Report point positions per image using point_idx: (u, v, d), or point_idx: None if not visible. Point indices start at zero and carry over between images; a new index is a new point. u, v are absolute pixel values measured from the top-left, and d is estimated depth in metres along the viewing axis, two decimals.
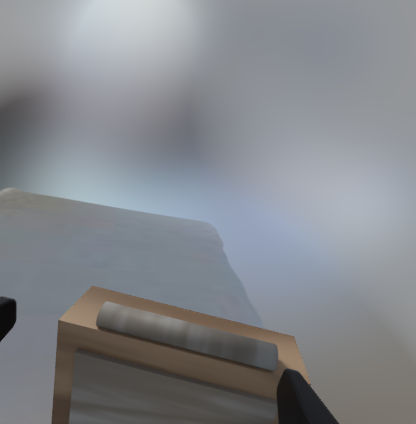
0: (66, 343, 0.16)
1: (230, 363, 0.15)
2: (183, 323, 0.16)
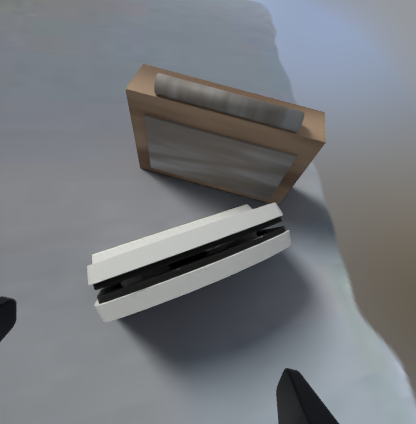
0: (136, 109, 0.21)
1: (262, 124, 0.19)
2: (225, 91, 0.18)
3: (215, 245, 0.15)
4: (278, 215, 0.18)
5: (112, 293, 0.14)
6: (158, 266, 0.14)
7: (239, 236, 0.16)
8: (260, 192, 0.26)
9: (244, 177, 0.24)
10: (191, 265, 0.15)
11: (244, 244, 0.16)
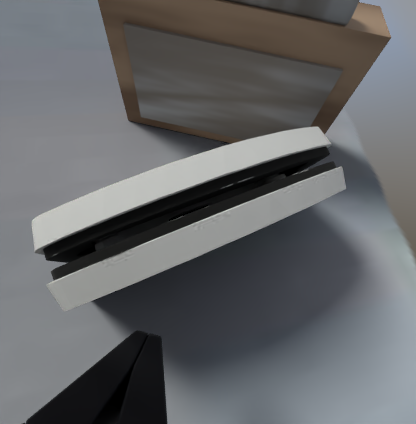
0: (111, 15, 0.15)
1: (294, 16, 0.13)
2: None
3: (239, 179, 0.09)
4: (326, 142, 0.12)
5: (72, 262, 0.09)
6: (146, 213, 0.09)
7: (275, 167, 0.10)
8: None
9: (264, 118, 0.18)
10: (202, 210, 0.09)
11: (283, 179, 0.10)
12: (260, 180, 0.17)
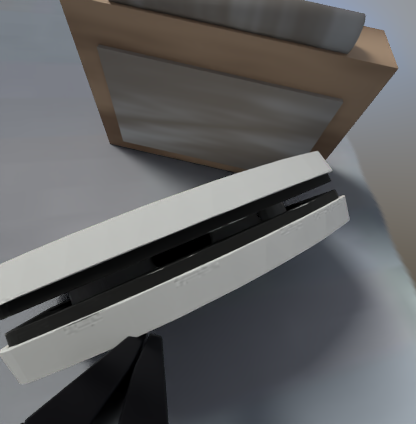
0: (83, 36, 0.13)
1: (289, 43, 0.11)
2: None
3: (229, 220, 0.08)
4: (328, 170, 0.11)
5: (29, 326, 0.07)
6: (119, 266, 0.07)
7: (271, 203, 0.09)
8: None
9: (256, 146, 0.17)
10: (185, 261, 0.07)
11: (280, 217, 0.09)
12: None
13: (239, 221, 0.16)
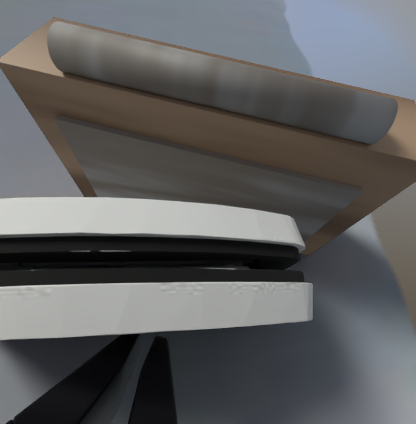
0: (37, 106, 0.10)
1: (294, 130, 0.09)
2: (209, 57, 0.08)
3: (103, 247, 0.06)
4: (291, 240, 0.08)
5: None
6: None
7: (173, 248, 0.07)
8: None
9: None
10: (22, 273, 0.06)
11: (179, 270, 0.07)
12: None
13: None
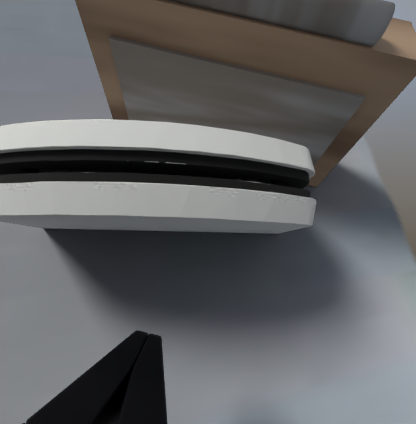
0: (94, 27, 0.13)
1: (310, 35, 0.11)
2: None
3: (167, 160, 0.09)
4: (304, 166, 0.10)
5: None
6: (63, 157, 0.09)
7: (217, 164, 0.09)
8: None
9: None
10: (114, 174, 0.09)
11: (221, 180, 0.09)
12: None
13: None
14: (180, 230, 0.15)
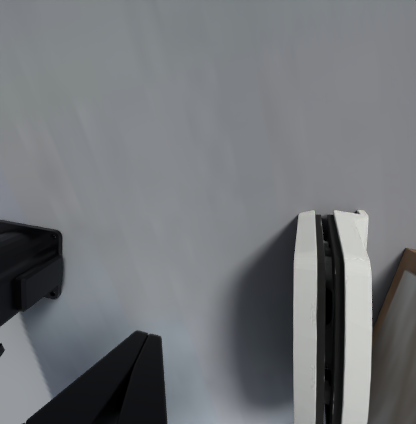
0: None
1: None
2: None
3: (335, 406, 0.13)
4: None
5: (324, 280, 0.13)
6: (337, 344, 0.12)
7: None
8: None
9: (380, 404, 0.18)
10: (322, 374, 0.13)
11: None
12: None
13: None
14: None
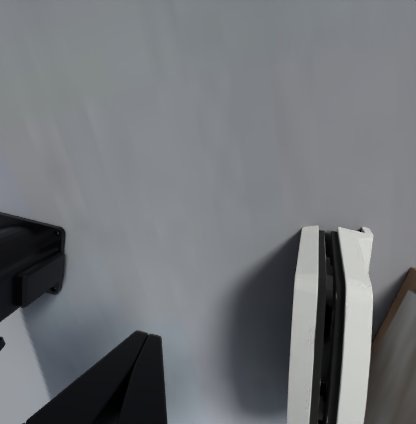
0: None
1: None
2: None
3: None
4: None
5: (324, 303, 0.12)
6: (333, 368, 0.12)
7: None
8: None
9: (373, 421, 0.18)
10: (317, 396, 0.13)
11: None
12: None
13: None
14: None
